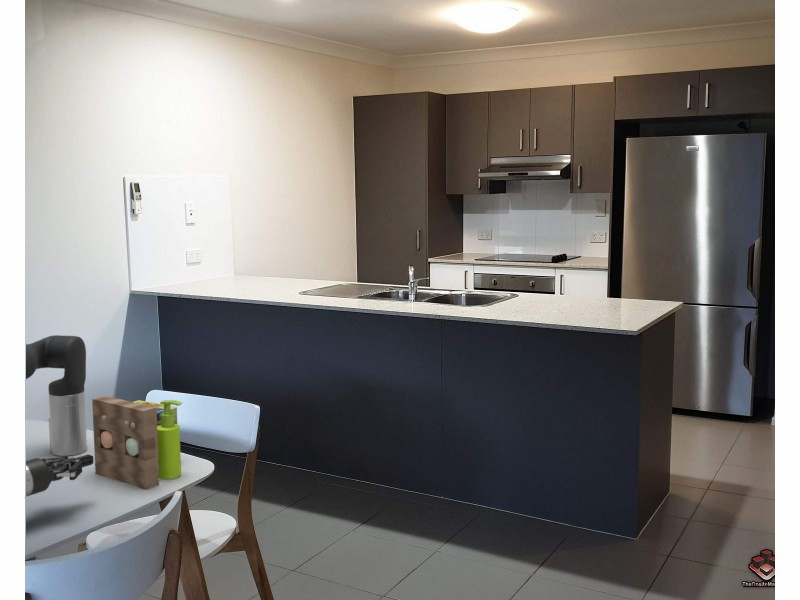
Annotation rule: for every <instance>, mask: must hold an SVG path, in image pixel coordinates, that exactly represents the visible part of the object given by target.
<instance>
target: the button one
mask: <svg viewBox="0 0 800 600" xmlns="http://www.w3.org/2000/svg"><path fill="white" fill-rule="evenodd" d="M101 442H102V444H103V446H104V447H105V448H111V447H113V442H112V432H111V431H104V432H103V433H102V434H101Z"/></svg>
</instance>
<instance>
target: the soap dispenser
mask: <svg viewBox="0 0 800 600" xmlns="http://www.w3.org/2000/svg"><path fill="white" fill-rule="evenodd" d="M159 404H162V405H164V412H163V413H161V425H159V426H157V438H158V468H159V480H164V481H165V480H174V478H175V479H177V477H178V478H180V477H181V476H182V467H181V466H182V464H181V463H182V462H181V433H180V432H181V431H180V429H181V428H180V425H179V424H178V423H177V424H175V423H174V413H173V412H171V406H172V405H173V406H176V407H179V406H181V405H183V401H179V400H173V399H165V400H162V401H160V403H159ZM180 475H181V476H180ZM179 476H180V477H179Z"/></svg>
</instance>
